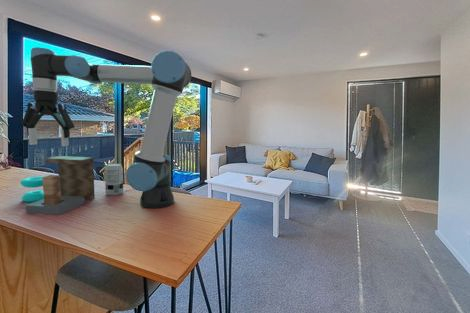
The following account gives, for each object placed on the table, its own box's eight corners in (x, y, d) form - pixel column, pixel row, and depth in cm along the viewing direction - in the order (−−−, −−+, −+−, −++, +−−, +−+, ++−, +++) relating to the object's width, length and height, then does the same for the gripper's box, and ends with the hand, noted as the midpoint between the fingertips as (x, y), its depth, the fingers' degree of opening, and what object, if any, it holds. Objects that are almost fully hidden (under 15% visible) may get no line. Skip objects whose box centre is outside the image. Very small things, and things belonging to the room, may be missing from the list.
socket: (84, 203, 108) (84, 196, 107) (59, 214, 94) (58, 207, 93) (55, 201, 109) (54, 195, 108) (26, 212, 95) (25, 205, 94)
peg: (53, 211, 97) (51, 177, 95) (44, 210, 97) (42, 177, 96) (61, 208, 101) (59, 175, 99) (52, 207, 101) (50, 175, 99)
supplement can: (102, 193, 122) (101, 165, 120) (116, 190, 130) (116, 163, 128) (112, 196, 119) (111, 166, 117) (126, 192, 126) (126, 164, 124)
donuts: (52, 175, 115) (42, 180, 106) (54, 195, 116) (44, 202, 107) (27, 176, 112) (15, 181, 103) (29, 196, 114) (17, 203, 104)
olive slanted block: (94, 198, 114) (93, 157, 112) (82, 204, 106) (79, 160, 103) (63, 196, 116) (60, 155, 113) (48, 202, 107) (45, 158, 105)
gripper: (83, 93, 96) (85, 145, 98) (25, 91, 97) (28, 143, 100) (68, 90, 88) (71, 147, 91) (6, 88, 90) (10, 144, 93)
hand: (49, 145), depth 96 cm, fingers open, 13 cm apart
